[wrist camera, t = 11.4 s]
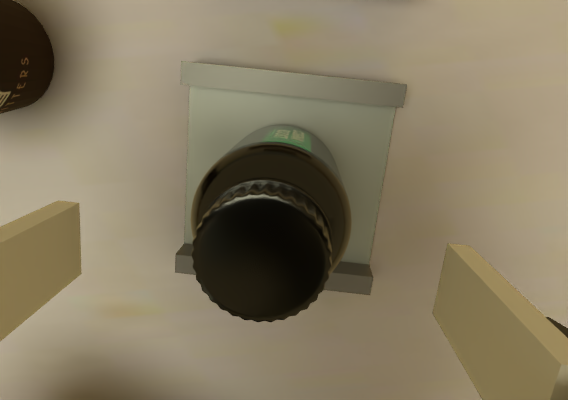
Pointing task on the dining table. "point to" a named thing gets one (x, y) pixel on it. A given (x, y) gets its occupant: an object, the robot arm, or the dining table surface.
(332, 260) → the supplement bottle
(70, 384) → the dining table surface
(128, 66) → the dining table surface
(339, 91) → the slate pad
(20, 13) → the coffee mug
